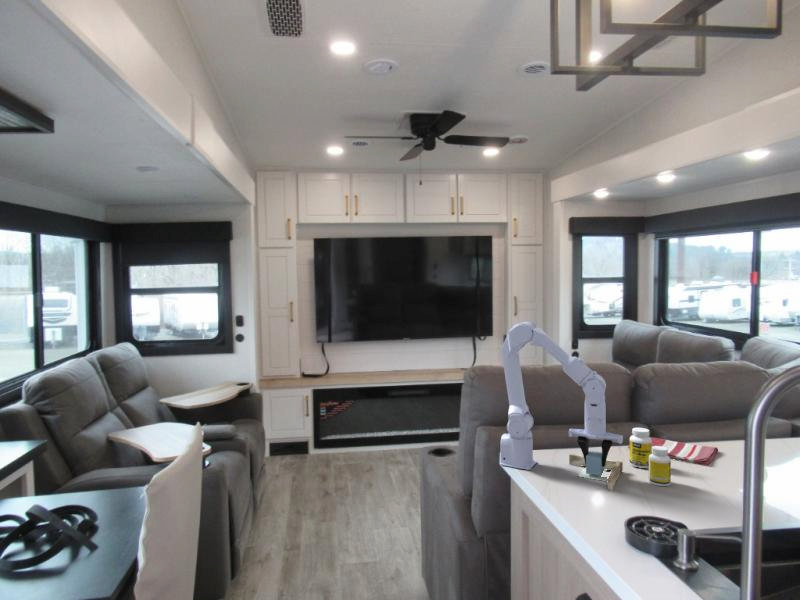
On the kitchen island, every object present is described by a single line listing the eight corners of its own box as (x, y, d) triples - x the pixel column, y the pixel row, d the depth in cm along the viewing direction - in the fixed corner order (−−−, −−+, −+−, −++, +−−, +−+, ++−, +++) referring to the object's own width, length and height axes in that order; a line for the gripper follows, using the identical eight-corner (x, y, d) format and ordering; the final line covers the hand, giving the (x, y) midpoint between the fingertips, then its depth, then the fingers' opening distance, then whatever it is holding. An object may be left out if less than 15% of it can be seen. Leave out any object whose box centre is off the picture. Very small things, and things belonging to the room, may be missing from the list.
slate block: (590, 466, 151) (590, 450, 151) (604, 469, 149) (604, 452, 149) (586, 473, 146) (585, 456, 146) (600, 476, 144) (600, 458, 144)
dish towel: (708, 468, 152) (708, 459, 152) (626, 452, 168) (626, 444, 167) (718, 453, 165) (718, 445, 165) (641, 440, 180) (641, 432, 180)
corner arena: (556, 480, 143) (556, 470, 143) (570, 463, 157) (570, 453, 157) (613, 491, 136) (613, 480, 136) (622, 471, 149) (622, 461, 149)
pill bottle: (629, 468, 152) (629, 431, 152) (629, 461, 158) (628, 425, 158) (653, 470, 150) (652, 433, 150) (651, 463, 156) (651, 427, 155)
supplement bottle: (673, 487, 138) (673, 451, 137) (651, 486, 139) (651, 450, 138) (667, 479, 143) (667, 445, 143) (646, 478, 144) (646, 444, 144)
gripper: (566, 417, 147) (566, 464, 148) (619, 424, 140) (620, 473, 140) (571, 412, 153) (572, 456, 154) (623, 418, 146) (623, 464, 146)
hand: (595, 464), depth 147 cm, fingers closed on slate block, 4 cm apart
